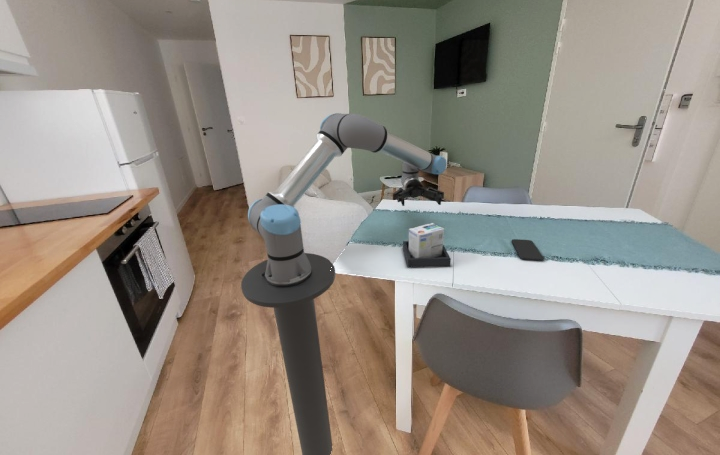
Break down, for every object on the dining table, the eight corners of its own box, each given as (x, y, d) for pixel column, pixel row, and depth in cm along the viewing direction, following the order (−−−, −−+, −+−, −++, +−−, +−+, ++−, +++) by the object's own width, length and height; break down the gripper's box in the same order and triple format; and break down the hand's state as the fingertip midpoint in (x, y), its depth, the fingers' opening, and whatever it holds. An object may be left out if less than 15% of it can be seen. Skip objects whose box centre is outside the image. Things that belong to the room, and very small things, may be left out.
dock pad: (407, 267, 99) (407, 259, 98) (402, 248, 112) (402, 241, 111) (450, 266, 98) (450, 258, 97) (440, 247, 112) (440, 240, 111)
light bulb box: (431, 248, 110) (432, 222, 106) (442, 255, 104) (445, 228, 100) (407, 255, 106) (408, 227, 102) (418, 263, 100) (419, 234, 96)
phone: (520, 257, 100) (510, 238, 113) (520, 259, 100) (510, 240, 114) (544, 259, 98) (531, 240, 112) (544, 261, 99) (531, 242, 112)
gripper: (441, 194, 129) (454, 210, 109) (385, 196, 130) (388, 212, 110) (442, 177, 126) (456, 191, 106) (384, 179, 127) (388, 193, 107)
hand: (421, 201), depth 108 cm, fingers open, 13 cm apart
